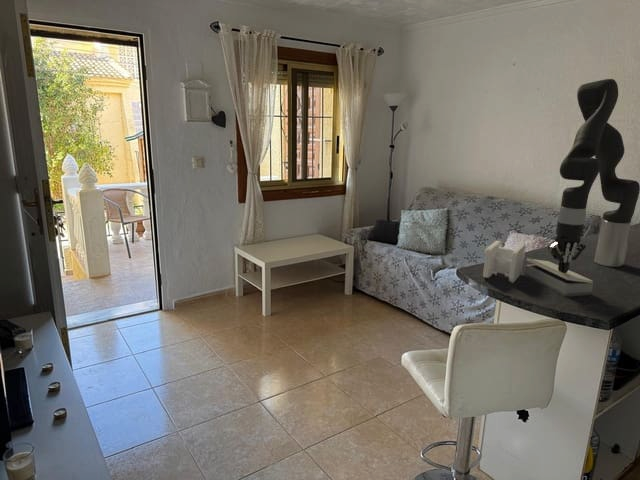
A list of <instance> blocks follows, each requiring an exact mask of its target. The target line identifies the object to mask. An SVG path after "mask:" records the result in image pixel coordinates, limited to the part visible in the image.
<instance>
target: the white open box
mask: <svg viewBox="0 0 640 480" xmlns="http://www.w3.org/2000/svg"><path fill="white" fill-rule="evenodd" d="M523 276H525V277H527V278H528V279H530V280H531V281H534V282H535V283H538V284H539V283H540V284H539V285H541V284H542V286H543V285H544V286H543V287H545V286H546V287H545V288H547V287H548V288H547V289H549V288H550V290H551V291H553V292H555V293H557V294H559V295H561V296H562V295H563V297H564V296H565V298H566V297H576V296H577V297H579V296H590V295H591V296H592V292H593V287H594V282H592V283H587V282H579V281H571V280H567V279H565V278H563V277H560V276H558V275H556V274H554V273H552V272H550V271H548V270H546V269H543V268H541V267H539V266H537V265H535V264H533V263H530V264H525V265H524V274H523Z"/></svg>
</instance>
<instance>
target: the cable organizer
mask: <svg viewBox="0 0 640 480" xmlns="http://www.w3.org/2000/svg"><path fill="white" fill-rule="evenodd" d="M502 246H503V243H502V241H501V240H495V241H494V242H493V243H491V244H490V245H488V246H487V247H486V248H485V250H484V255H485V257H484V263H483V265H484V266H483V272H482V276H483V277H484V278H486V279H489V278H490V277H491V276H493V274H494V275H495V276H497V274H502V275H504V277H507V278H508V281H509V283H511V284H514V283H515V282H516V281H517V279H518V278H519V277H520V276H521V274H522V272H523V266H524V261H525V254H526V253H525V252H526V244H523V243H521V244H519V245H517V247H516V248H509V247H508V248H507V247H502Z"/></svg>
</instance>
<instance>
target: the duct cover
mask: <svg viewBox="0 0 640 480" xmlns="http://www.w3.org/2000/svg"><path fill="white" fill-rule="evenodd" d="M526 262H529V263H530V264H535V265H537V266H539V267H541V268H543V269H546V270H548V271H550V272H552V273H554V274H556V275H558V276H560V277H563V278H565V279H567V280H571V281H579V282H587V283H594V280H592V279H590V278H587V277H586V276H583V275H581V274H579V273H576V272H574V271H572V270H568V271H567V273H562V272H560V271H559V270H558V266H559V264H556V263H553V262H551V261H550V260H542V259H540V260H539V259H533V258H528V257H527V258H526Z"/></svg>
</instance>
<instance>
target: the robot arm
mask: <svg viewBox="0 0 640 480" xmlns="http://www.w3.org/2000/svg"><path fill="white" fill-rule="evenodd" d="M576 92H577V93H576V96H577V97H576V98H577V103H578V106H579V109H580V112H581V114H582V117H583V120H584V123H582V124H581V126H580V127H579V128H578V130H577V132H576V134H575V137H574V140H573V145H572V148H571V149H570V151H569V152H568V153H567V155H566V156H565V157H564V158H563V160H562V162H561V164H560V167H559V174H560V176H561V178H562V179H564V180H568V181H580V182H583V183H582V184H581V185H579V186H574V187H573V186H571V187H567V188H565V189H564V190H563V191H562V197H561V202H560V203H561V204H560V209H559V212H558V216H557V224H556V230H555V234H556V238H555V239H554V243H552V244H549V245H547V249H548V251H549V252H550V254H551V255H552V257H553V259H554V260H557V261H558V270H559V271H560V272H562V273H567V271H568V270H569V269H570V263H571V262H572V261H576V260H577V258H578V257H579V256H580V255H581V254H582V253H583V252H584V251H585V249H586V248H587V246H586V244H584V243H582V241H581V238H582V237H583V235H584V229H585V221H586V217H587V205H588V200H589V195H590V191H591V189H592V187H593V185H594V182H595V181H596V179H597V177H598V175H599V179H600V188H601V194H602V196H603V198H604V200H605V201H606V202H609V203H615V204H619V207H618V208H617V209H614V210H607V211H604V213H603V214H602V220H601V224H600V229H599V234H598V240H597V245H596V249H595V255H594V260H593V262H594V263H596V264H598V265H602V266H605V267H612V268H613V267H614V268H615V267H616V268H618V267H622V266H624V265H625V261H626V260H625V259H626V254H627V252H628V251H627V250H628V246H629V241H628V236H629V232H630V226H631V222H632V219H633V216H634V213H635V209H636V206H637V203H638V199H639V195H640V184H639V183H640V182H638V181H636V180H633V179H625V178H619V177H617V174H616V173H617V172H616V168H617V166H618V165H619V163H620V162H621V161H622V159H623V157H624V155H625V146H624V145H625V144H624V141H623V136H622V135H621V132H619V130H618V129H616V127H614V126H613V125H612V124H610V123H609V122H608V121H609V120H610V117H611V116H612V113H613V111H614V109H615V106H616V105H617V102H618V99H619V98H618V97H619V86H618V83H617V81H616V80H615V79H614V78H606V79H601V80H595V81H592V82H587V83H583V84H581V85H579V87H578V89H577V91H576Z"/></svg>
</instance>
